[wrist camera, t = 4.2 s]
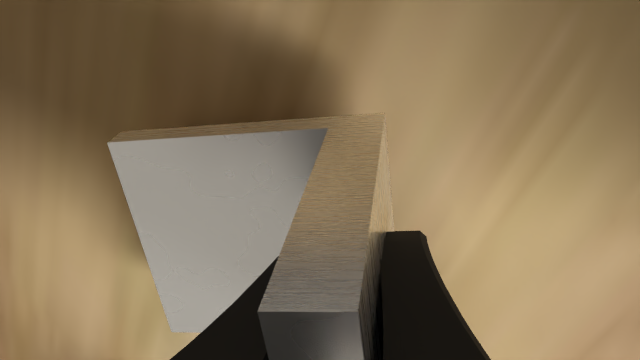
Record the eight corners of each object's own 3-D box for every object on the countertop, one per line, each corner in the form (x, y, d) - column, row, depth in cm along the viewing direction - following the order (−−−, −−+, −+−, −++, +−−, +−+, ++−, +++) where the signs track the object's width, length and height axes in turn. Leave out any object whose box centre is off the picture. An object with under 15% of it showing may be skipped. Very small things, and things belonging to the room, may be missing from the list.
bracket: (385, 112, 10) (357, 312, 5) (400, 316, 12) (393, 592, 7) (121, 131, 11) (-112, 309, 6) (181, 315, 13) (45, 553, 8)
